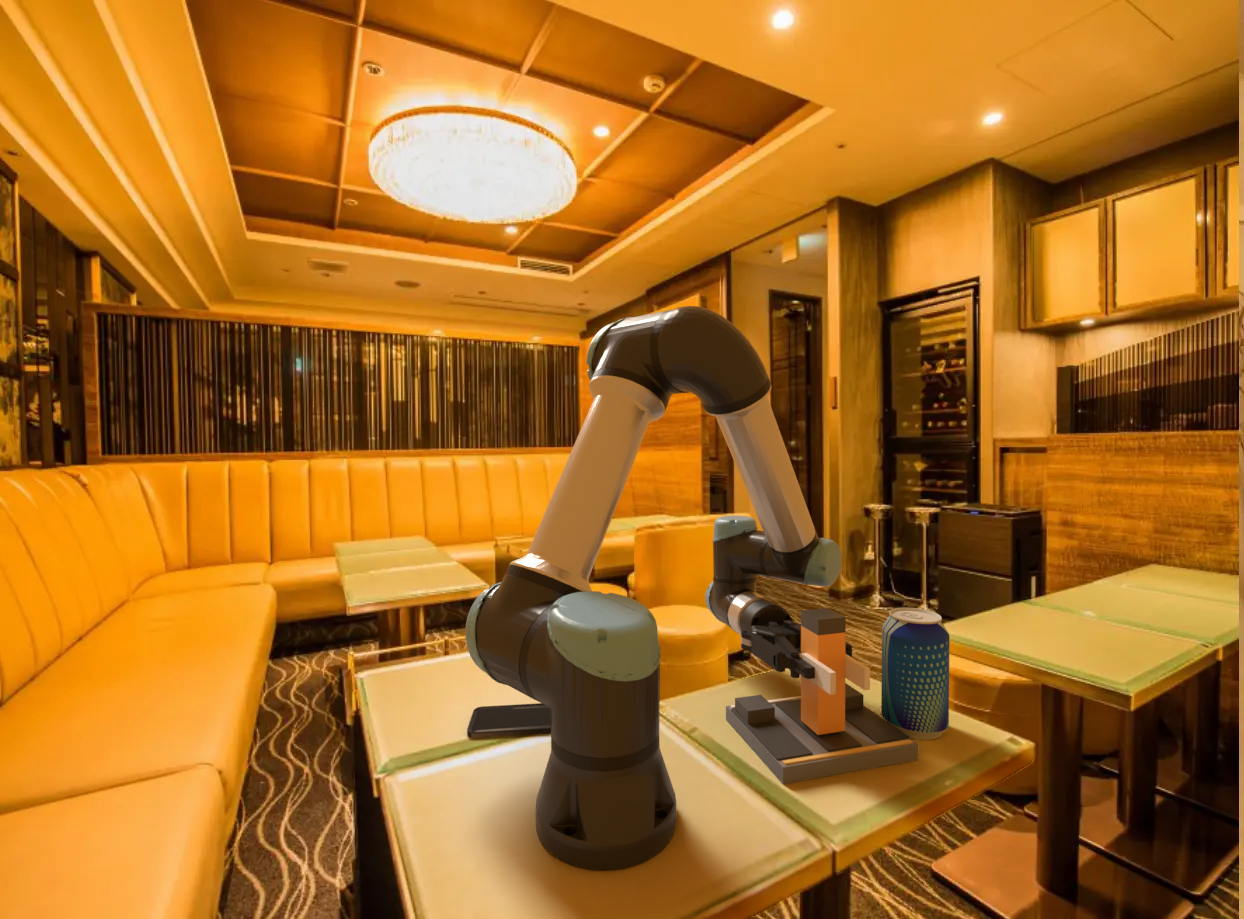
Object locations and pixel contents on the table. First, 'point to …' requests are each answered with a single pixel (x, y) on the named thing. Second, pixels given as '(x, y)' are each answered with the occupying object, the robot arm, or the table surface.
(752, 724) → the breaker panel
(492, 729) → the phone
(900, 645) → the beer can
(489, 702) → the table surface
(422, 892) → the table surface
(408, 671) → the table surface
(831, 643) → the orange lever
